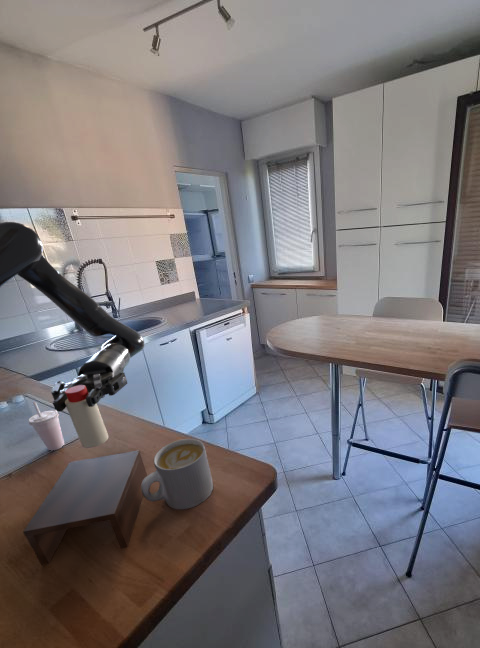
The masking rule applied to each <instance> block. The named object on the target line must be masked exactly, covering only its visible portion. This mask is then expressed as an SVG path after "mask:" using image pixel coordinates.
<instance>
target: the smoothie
mask: <svg viewBox="0 0 480 648" xmlns="http://www.w3.org/2000/svg"><path fill="white" fill-rule="evenodd" d="M32 404H33V406H34V408H35V411H36V412H37V413H35V414H34V415H32V416H31V417H29V419H28V425H30V426H31V427H32V428H33V430H34V431H35V432H36V434H37V436H39V438H40V439H41V441H42V443H43V444H44V445H45V447H46V448H47V450H48V451H49V450H51V451H50V452H52V451H53V450H54V451H57V450H59V449H61V448H63V447H64V446H65V440H64V435H63V432H62V428H61V424H60V419H59V416H60V414H59V413H58V411H57V410H55V409H48V410H47V409H46V410H44V411H40V408H39V406H38V404H37V401H33V402H32ZM63 445H64V446H63ZM62 446H63V447H62ZM54 451H53V452H54Z"/></svg>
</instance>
